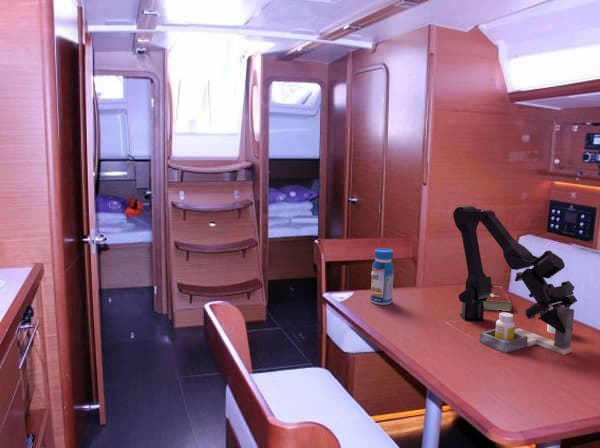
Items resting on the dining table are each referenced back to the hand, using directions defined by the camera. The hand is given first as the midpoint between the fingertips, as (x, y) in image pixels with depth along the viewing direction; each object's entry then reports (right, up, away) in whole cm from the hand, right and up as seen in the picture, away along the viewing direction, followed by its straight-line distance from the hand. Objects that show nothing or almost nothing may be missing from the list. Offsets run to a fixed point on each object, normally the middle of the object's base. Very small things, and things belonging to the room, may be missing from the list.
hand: (568, 332), depth 160 cm
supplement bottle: (-17, -5, +6) cm, 19 cm away
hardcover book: (-6, +1, +49) cm, 49 cm away
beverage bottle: (-48, +2, +45) cm, 66 cm away
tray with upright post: (-11, -5, +4) cm, 13 cm away
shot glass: (+5, -4, +18) cm, 19 cm away
